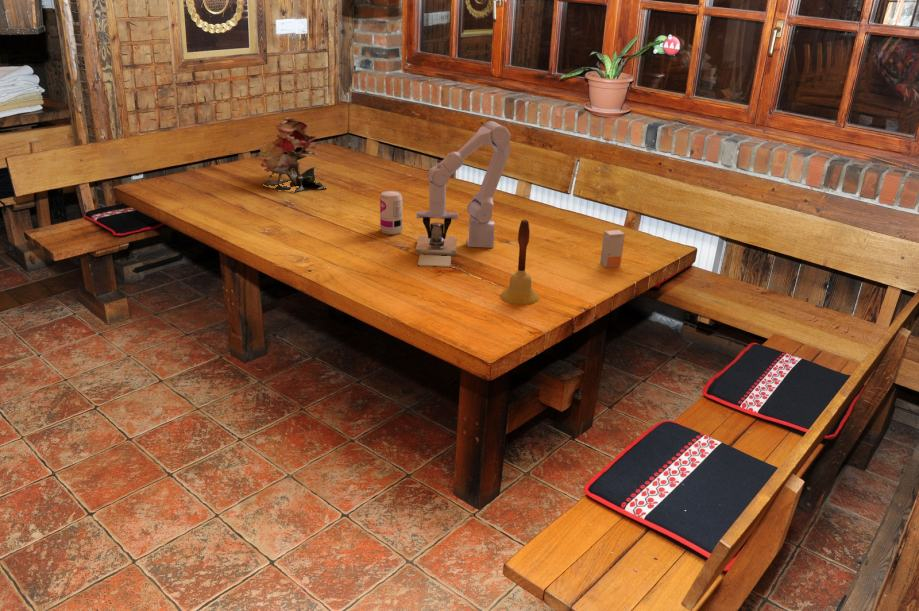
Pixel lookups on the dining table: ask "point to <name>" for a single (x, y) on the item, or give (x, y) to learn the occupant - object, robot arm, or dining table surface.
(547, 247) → the dining table surface
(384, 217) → the supplement can
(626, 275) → the dining table surface
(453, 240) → the housing plate
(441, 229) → the grey metal cylinder
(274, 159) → the rose bouquet
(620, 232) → the skincare box
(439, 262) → the pad
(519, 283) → the handbell
